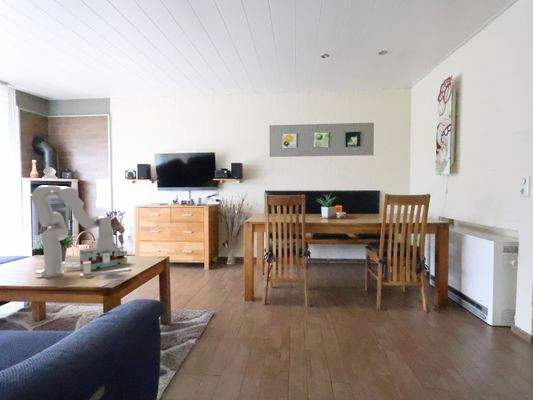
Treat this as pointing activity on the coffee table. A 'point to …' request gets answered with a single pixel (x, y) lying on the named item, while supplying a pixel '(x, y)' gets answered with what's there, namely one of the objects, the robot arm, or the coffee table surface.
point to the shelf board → (106, 272)
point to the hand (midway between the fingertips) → (106, 261)
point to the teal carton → (106, 258)
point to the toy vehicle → (95, 259)
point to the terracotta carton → (87, 268)
